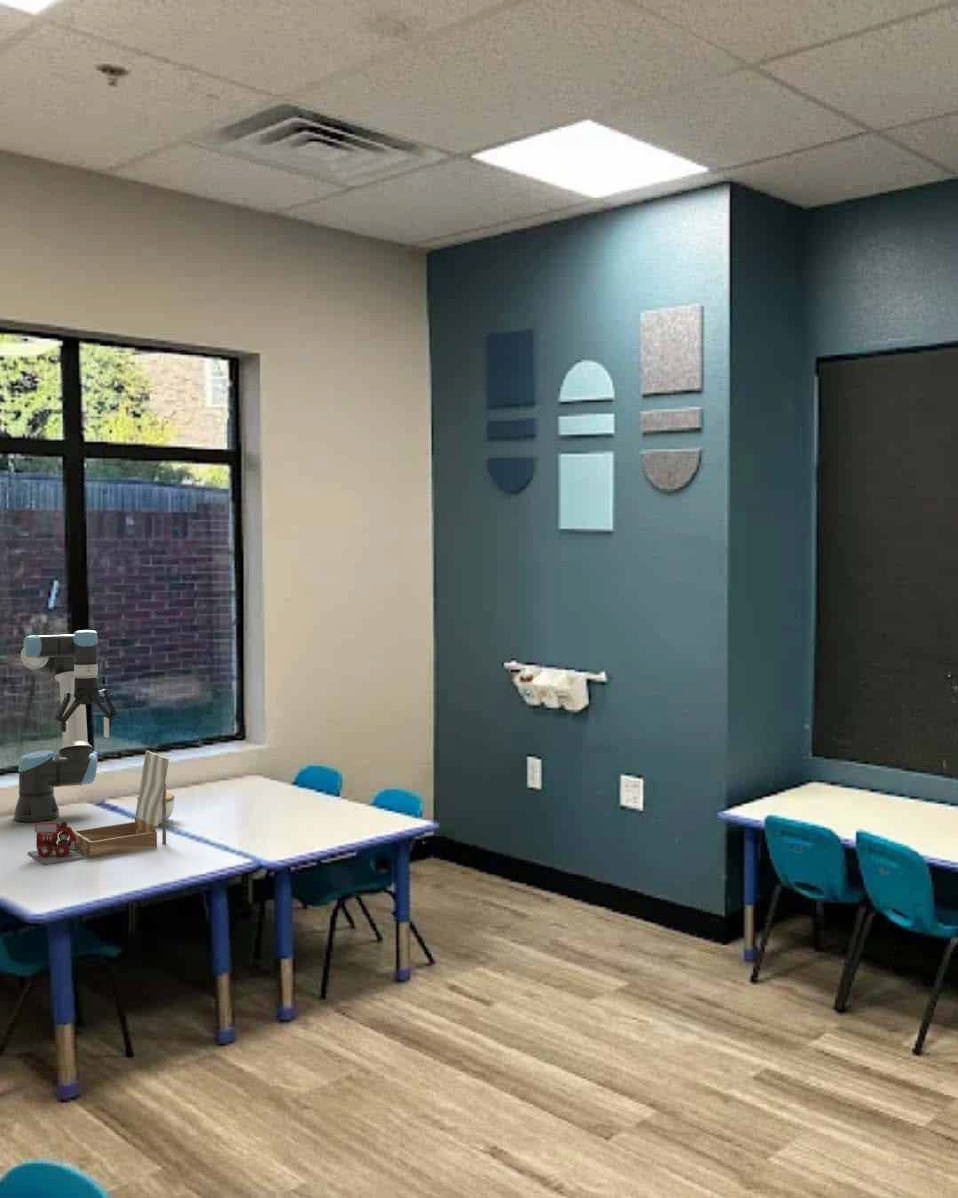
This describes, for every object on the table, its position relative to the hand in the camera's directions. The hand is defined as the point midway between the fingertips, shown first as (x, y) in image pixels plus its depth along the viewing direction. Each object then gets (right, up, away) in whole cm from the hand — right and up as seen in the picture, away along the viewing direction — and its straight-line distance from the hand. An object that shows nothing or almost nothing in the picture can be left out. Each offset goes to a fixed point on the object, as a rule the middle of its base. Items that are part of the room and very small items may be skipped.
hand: (86, 739), depth 389 cm
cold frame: (+15, -34, -10) cm, 38 cm away
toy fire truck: (-2, -34, -23) cm, 41 cm away
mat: (-2, -34, -23) cm, 41 cm away
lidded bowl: (+17, -32, +21) cm, 42 cm away
